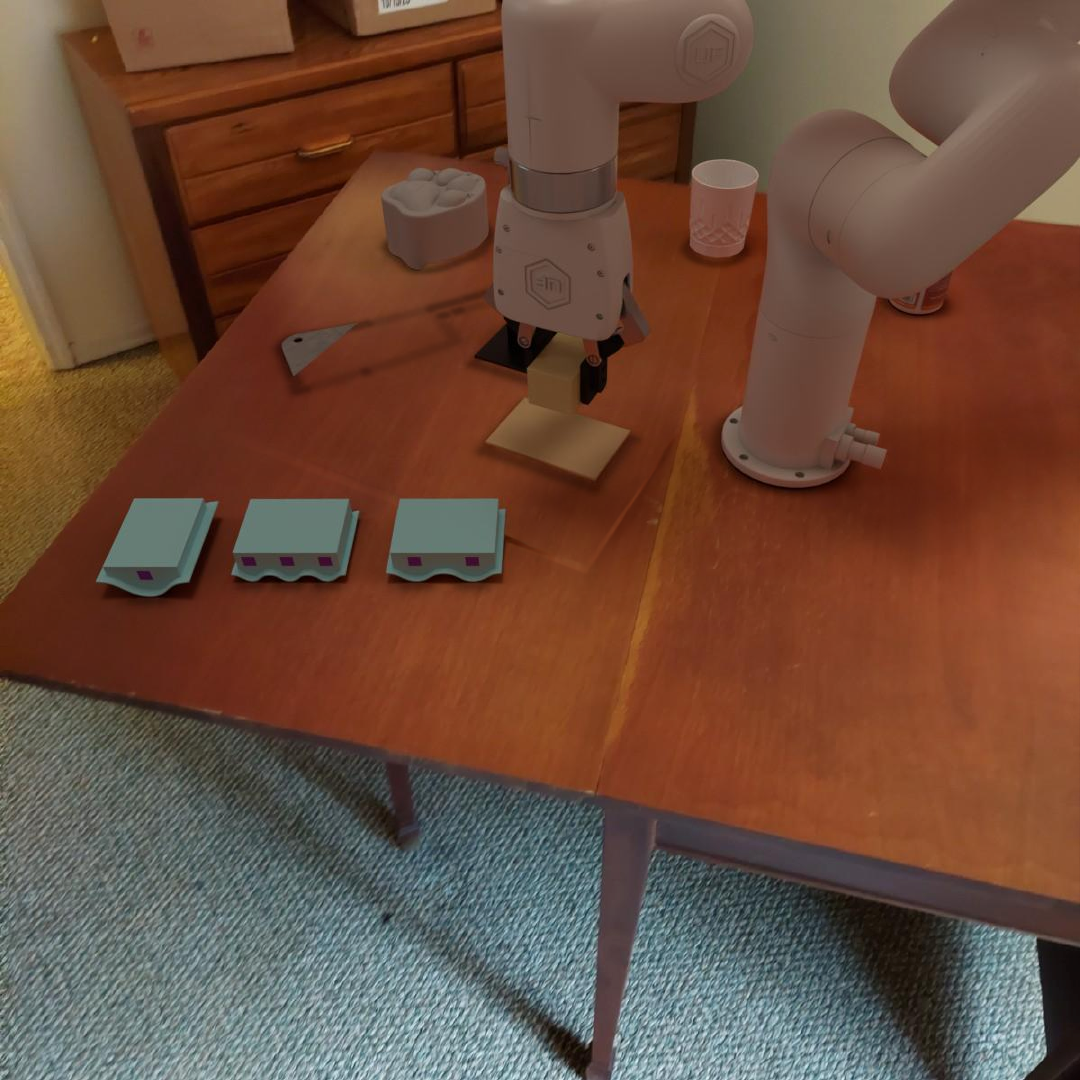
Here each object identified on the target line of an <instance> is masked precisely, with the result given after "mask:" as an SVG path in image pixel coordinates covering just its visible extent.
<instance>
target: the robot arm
mask: <svg viewBox="0 0 1080 1080" xmlns="http://www.w3.org/2000/svg"><path fill="white" fill-rule="evenodd" d="M500 10H501V11H500V12H501V13H500V14H501V36H502V37H501V39H502V55H503V57H502V58H503V73H504V93H505V110H506V111H505V112H506V129H507V130H506V132H507V146H506V147H503V146H497V148H496V149H495V151H494V154H493V164H494V165H495V166H496V167H499V168H502V169H504V171H507V183H508V184H507V185H506V186H504V187H503V188H502V189H501V191H500V194H499V198H498V204H497V210H496V211H497V212H496V218H495V229H494V237H493V256H492V257H493V260H492V261H493V262H492V275H493V276H492V279H493V280H492V281H493V282H492V283H491V284H490V286H489V288H488V289H487V290H486V291H485V293H484V295H483V299H484V301H485V303H486V304H488V305H489V306H490V307H491V308H492V309H493V310H495V311H496V312H497V313H498V314H499V315H502V318H503V320H504V321H505V323H507V324H508V325H509V326H510V327H511V328H512V329H513V331H514V332H515V333H516V334H517V335H518V338H517V341H518V343H519V345H520V346H522V347H524V353H525V371H526V373H527V368H528V367H529V366H530V364H531V363H532V362H533V361H534V360H535V359H536V357H537V356H538V355H539V354H540V353H541V352H542V350H543V349H544V348H545V347H546V346H547V345H548V343H549V342H550V341H551V340H552V336H551V335H550V331H546V330H545V329H547V330H551V331H555V332H559V333H563V334H566V335H570V336H574V337H579V338H582V340H583V345H584V350H585V355H586V358H585V359H584V360H583V362H582V363H581V365H580V401H581V405H586V406H589V405H590V404H591V403H592V401H594V398H595V397H596V396H597V395H598V394H601V393H603V391H604V390H605V389H606V385H607V382H608V363H609V361H608V358H610V357H611V356H613V355H614V354H616V353H617V352H619V351H620V350H621V349H623V348H625V347H626V348H628V347H631V346H634V345H636V344H639V343H642V342H644V341H645V340H646V339H647V337H648V335H649V334H650V333H651V329H652V328H651V326H650V325H649V323H648V321H647V319H646V317H645V315H644V314H643V311H642V310H641V308H640V306H639V305H638V303H637V301H636V299H635V298H634V258H633V257H634V256H633V243H632V233H631V224H630V219H629V212H628V207H627V202H626V198H625V194H624V193H623V192H621V191H619V190H618V164H619V163H618V160H619V159H618V158H619V126H620V124H619V123H620V103H626V102H627V103H655V104H656V103H657V104H686V103H694V102H698V101H702V100H705V99H709V98H711V97H714V96H715V95H717V94H719V93H721V92H722V91H724V90H725V89H727V88H728V87H729V86H730V85H732V84H733V83H734V82H735V81H736V80H737V79H738V77H739V76H740V75H741V73H742V72H743V71H744V68H745V67H746V66H747V64H748V62H749V59H750V57H751V53H752V51H753V47H754V40H755V39H754V38H755V26H754V24H755V23H754V19H753V15H752V13H751V10H750V7H749V5H748V3H747V2H746V0H502V3H501V9H500ZM1079 42H1080V0H952V1H950V3H949V4H948V5H947V6H946V7H945V8H944V9H942V11H940V12H939V13H938V14H937V15H936V16H935V17H934V18H933V19H932V20H930V22H928V24H927V25H926V26H925V27H924V28H922V30H921V31H920V32H919V33H918V34H917V35H916V36H915V37H914V38H913V39H912V40H911V41H910V42H909V43H908V44H907V45H906V47H905V48H904V50H903V51H902V52H901V54H900V56H899V57H898V58H897V60H896V61H895V64H894V65H893V68H892V69H891V74H890V79H889V81H888V92H889V93H888V94H889V98H890V103H891V104H892V106H893V108H894V110H895V112H896V113H897V115H898V116H899V117H900V118H901V119H902V120H903V121H904V122H905V124H907V125H908V127H910V128H911V129H913V130H914V131H915V132H917V134H920V135H921V136H922V137H924V138H925V139H927V140H928V141H929V142H931V143H933V144H934V145H935V146H936V147H937V148H936V149H934V150H933V151H932V152H931V153H930V154H929V155H926V154H925V153H923V152H922V151H920V150H919V149H917V148H916V147H915V146H914V145H913V144H911V142H909V141H908V140H907V139H905V138H903V137H902V136H900V135H899V134H897V133H896V132H894V131H893V130H891V129H890V128H888V127H887V126H885V125H884V124H883V123H881V122H880V121H878V120H876V119H874V118H872V117H871V116H868V115H866V114H863V113H861V112H858V111H855V110H851V109H845V108H829V109H825V110H821V111H817V112H814V113H812V114H810V115H808V116H807V117H805V118H803V119H802V120H800V121H799V122H798V123H797V124H796V125H794V126H793V127H792V128H791V129H790V130H789V132H788V133H787V134H786V135H785V137H784V138H783V140H782V141H781V142H780V144H779V146H778V148H777V150H776V152H775V154H774V156H773V159H772V162H771V166H770V168H769V169H770V170H769V175H768V180H767V187H766V188H767V189H766V220H767V221H766V223H767V224H766V225H767V226H766V227H767V242H766V243H767V245H766V257H765V266H764V267H765V268H764V274H763V282H762V289H761V292H760V293H761V294H760V299H759V304H758V311H757V316H756V323H755V329H754V334H753V339H752V346H751V353H750V358H749V364H748V370H747V376H746V382H745V388H744V394H743V400H742V406H740V407H738V408H736V409H735V410H734V411H732V412H731V413H730V414H729V415H728V417H727V418H726V420H725V421H724V423H723V425H722V431H721V437H720V438H721V441H720V442H721V447H722V451H723V453H724V454H725V456H726V458H727V460H729V462H730V463H731V464H732V466H734V467H735V468H737V469H738V470H739V471H740V472H742V473H743V474H745V475H747V476H748V477H750V478H752V479H754V480H757V481H760V482H762V483H764V484H767V485H773V486H776V487H783V488H792V489H793V488H794V489H795V488H797V489H798V488H802V489H803V488H809V487H817V486H819V485H823V484H826V483H829V482H830V481H832V480H835V479H836V478H838V477H839V476H840V475H842V474H843V473H844V472H845V471H846V469H847V468H848V467H849V466H850V463H851V461H854V462H857V463H860V464H861V465H864V466H867V467H870V468H873V469H877V470H881V469H882V466H883V463H884V461H885V458H886V455H887V452H888V449H886V448H882V447H880V446H877V445H878V442H879V439H880V435H881V433H879V432H877V431H873V430H870V429H864V428H861V427H857V424H856V423H853V422H852V418H853V414H854V410H855V409H854V407H851V406H849V403H850V400H851V396H852V391H853V389H854V388H853V387H854V384H855V380H856V376H857V372H858V368H859V365H860V361H861V357H862V353H863V350H864V346H865V342H866V338H867V334H868V331H869V327H870V324H871V321H872V318H873V315H874V310H875V307H876V303H877V298H882V299H888V300H889V299H897V298H903V297H908V296H911V295H914V294H916V293H918V292H921V291H923V290H925V289H927V288H928V287H930V286H932V285H933V284H935V283H936V282H938V281H939V280H941V279H942V278H943V277H945V276H946V275H947V274H949V273H950V272H951V271H952V270H953V271H954V270H955V269H956V268H958V267H959V266H960V265H961V264H962V263H963V262H965V261H966V260H968V258H970V257H971V256H972V255H973V254H974V253H976V252H977V251H978V250H979V249H980V248H981V247H982V246H984V245H985V244H986V243H987V242H988V241H990V240H991V239H992V238H994V236H995V235H996V234H998V233H999V232H1000V231H1001V230H1003V229H1004V228H1005V227H1006V226H1007V225H1008V224H1009V223H1011V222H1012V221H1013V220H1015V218H1017V217H1018V216H1019V215H1020V214H1021V213H1022V212H1024V211H1025V210H1026V209H1027V208H1028V207H1030V206H1031V205H1032V204H1033V203H1034V202H1035V201H1037V199H1039V198H1040V197H1041V196H1042V195H1044V194H1045V193H1046V192H1047V191H1048V190H1049V189H1050V188H1052V187H1053V186H1054V185H1055V184H1056V183H1057V182H1058V181H1059V180H1061V178H1063V177H1064V176H1065V175H1066V174H1067V173H1068V171H1069V170H1070V169H1071V168H1072V167H1074V165H1075V164H1076V163H1077V161H1078V160H1079V159H1080V43H1079ZM619 322H621V324H622V325H623V326H619V327H618V325H619ZM526 373H525V374H526Z"/></svg>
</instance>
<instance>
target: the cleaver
mask: <svg viewBox="0 0 1080 1080" xmlns="http://www.w3.org/2000/svg"><path fill="white" fill-rule="evenodd" d="M356 325H358V322H354V323H349V324H345V325H339V326H334V327H333V326H332V327H328V328H321V329H317V330H313V331H306V332H301V333H295V334H293V335H290V336H288V337H286V339H284V340H283V341H282V343H281V349H282V352H283V355H284V358H285V360H286V362H287V365H288V367H289V370H290V372H291V374H292V377H293V378H294V377H295V376H297V374H299V373H300V372H301V371H302V370H303V369H305V368H306V367H307V366H308V365H309V364H311V363H312V362H313V361H314V360H316V359H317V358H318V357H319V356H320V355H321V354H323V353H324V352H325V351H326V350H327V349H328V348H330V347H331V346H332V345H333V344H334V343H336V342H337V341H338V340H340V338H342V337H344V335H345V334H347V333H348V332H349V331H350V330H351V329H352V328H353V327H354V326H356ZM296 340H301V341H300V342H296Z"/></svg>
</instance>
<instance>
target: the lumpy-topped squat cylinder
mask: <svg viewBox="0 0 1080 1080" xmlns="http://www.w3.org/2000/svg"><path fill="white" fill-rule="evenodd" d="M380 199H381V207H382V214H383V222H384V227H385V229H384V230H385V236H386V242H387V249H388V251H389V253H391V254H392V255H394V256H396V257H398V258H400V259H401V260H402V261H403V262H404V263H405V264H406V265H407V266H408V267H409V268H410V269H412V270H416V271H422V270H423V269H425V267H427V266H428V265H431V264H437V263H440V262H445V261H448V260H450V259H453V258H456V257H458V256H461V255H464V254H466V253H469V252H472V251H473V250H475V249H477V248H478V247H479V246H480V245H481V244H482V243H484V241H485V240H486V239H487V237H488V235H489V231H490V227H489V212H488V196H487V183H486V181H485V179H484V177H482V175H479V174H476V173H474V172H473V173H472V172H470V171H462V170H461V169H458V168H454V167H448V168H445V169H443V170H441V171H440V170H438V169H437V170H434V171H432V170H430V169H428V168H425V167H417V168H415V169H413V170H411V171H410V172H409V174H408V175H407V179H403V180H402V181H398V182H396V183H393V184H391V185H389V186H387V187H386V188H384V190H383V191H382V193H381V194H380Z"/></svg>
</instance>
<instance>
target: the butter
mask: <svg viewBox="0 0 1080 1080" xmlns="http://www.w3.org/2000/svg"><path fill="white" fill-rule="evenodd" d="M585 358H586V355H585V350H584V345H583V340H582V338H579V337H574V336H570V335H566V334H563V333H559V332H558V333H557V334H556V335H555V336H554V337H553V339H552V340H551V341H550V342H549V343H548V345H547V346H546V347H545V348H544V349H543V350H542V352H541V353H540V354H539V355H538V356H537V357H536V359H535V360H534V361H533V362H532V363H531V364H530V366H529V367H528V368H527V374H526V377H527V396H528V397H527V398H528V399H529V403H530V404H533V405H537V406H540V407H544V408H547V409H550V410H554V411H557V412H561V413H564V414H568V415H571V416H572V415H573V414H574V413H576V411H577V410H578V408H579V407H580V406H581V405H582V403H581V401H580V365H581V363H582V362H583V360H584V359H585Z"/></svg>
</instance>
